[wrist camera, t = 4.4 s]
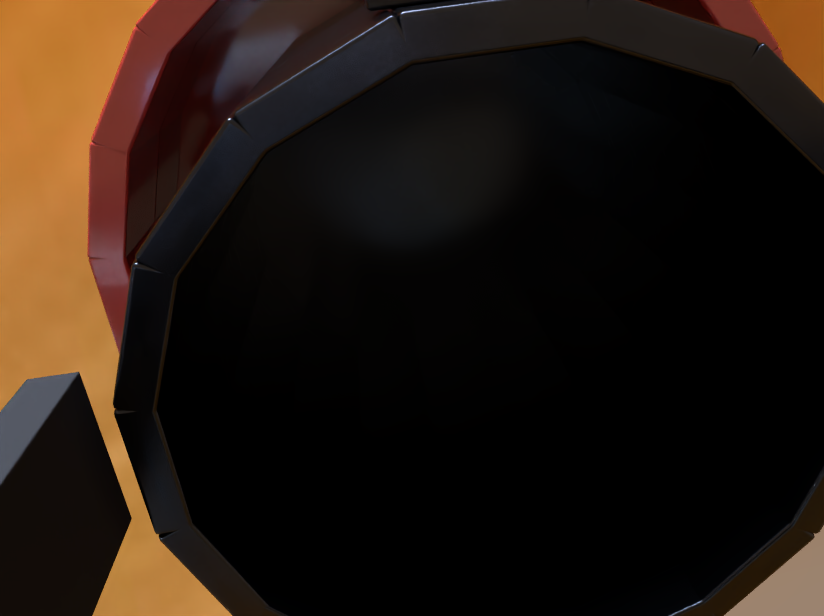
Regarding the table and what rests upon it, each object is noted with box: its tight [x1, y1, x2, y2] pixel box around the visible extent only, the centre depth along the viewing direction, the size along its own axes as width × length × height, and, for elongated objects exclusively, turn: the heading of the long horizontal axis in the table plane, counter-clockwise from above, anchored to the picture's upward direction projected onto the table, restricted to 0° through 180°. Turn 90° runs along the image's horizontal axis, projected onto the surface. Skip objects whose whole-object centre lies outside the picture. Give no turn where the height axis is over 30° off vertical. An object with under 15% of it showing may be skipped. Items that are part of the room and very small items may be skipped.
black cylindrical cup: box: [113, 0, 824, 616], centre depth 16 cm, size 11×14×12 cm
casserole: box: [88, 0, 784, 354], centre depth 19 cm, size 16×16×6 cm
